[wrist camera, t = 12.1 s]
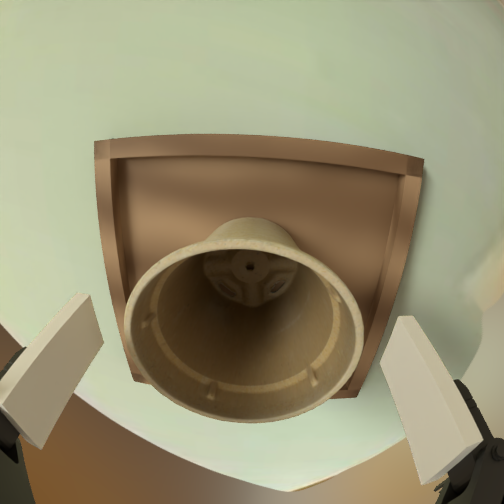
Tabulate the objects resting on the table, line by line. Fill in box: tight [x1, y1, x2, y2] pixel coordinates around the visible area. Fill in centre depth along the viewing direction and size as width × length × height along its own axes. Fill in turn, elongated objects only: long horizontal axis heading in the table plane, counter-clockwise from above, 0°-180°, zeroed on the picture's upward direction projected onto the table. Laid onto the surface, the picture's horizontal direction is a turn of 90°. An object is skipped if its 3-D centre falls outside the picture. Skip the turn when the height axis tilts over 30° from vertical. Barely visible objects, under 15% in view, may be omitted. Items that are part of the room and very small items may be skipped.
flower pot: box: [124, 217, 364, 423], centre depth 14 cm, size 9×9×9 cm
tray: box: [94, 134, 424, 399], centre depth 19 cm, size 20×20×2 cm
